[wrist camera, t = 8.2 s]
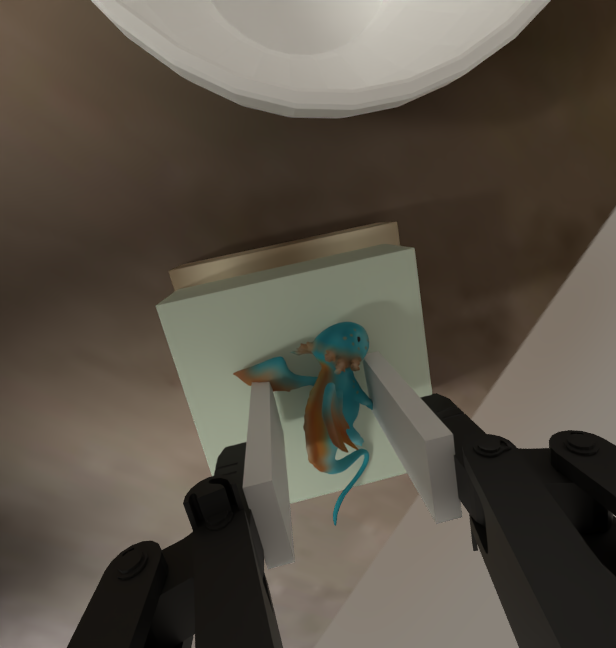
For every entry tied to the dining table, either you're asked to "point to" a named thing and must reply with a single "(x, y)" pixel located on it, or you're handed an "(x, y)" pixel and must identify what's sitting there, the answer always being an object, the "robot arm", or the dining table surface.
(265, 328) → the tower top
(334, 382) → the dragon figurine
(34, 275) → the dining table surface
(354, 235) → the tower base
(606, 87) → the dining table surface
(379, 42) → the bowl
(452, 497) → the robot arm
